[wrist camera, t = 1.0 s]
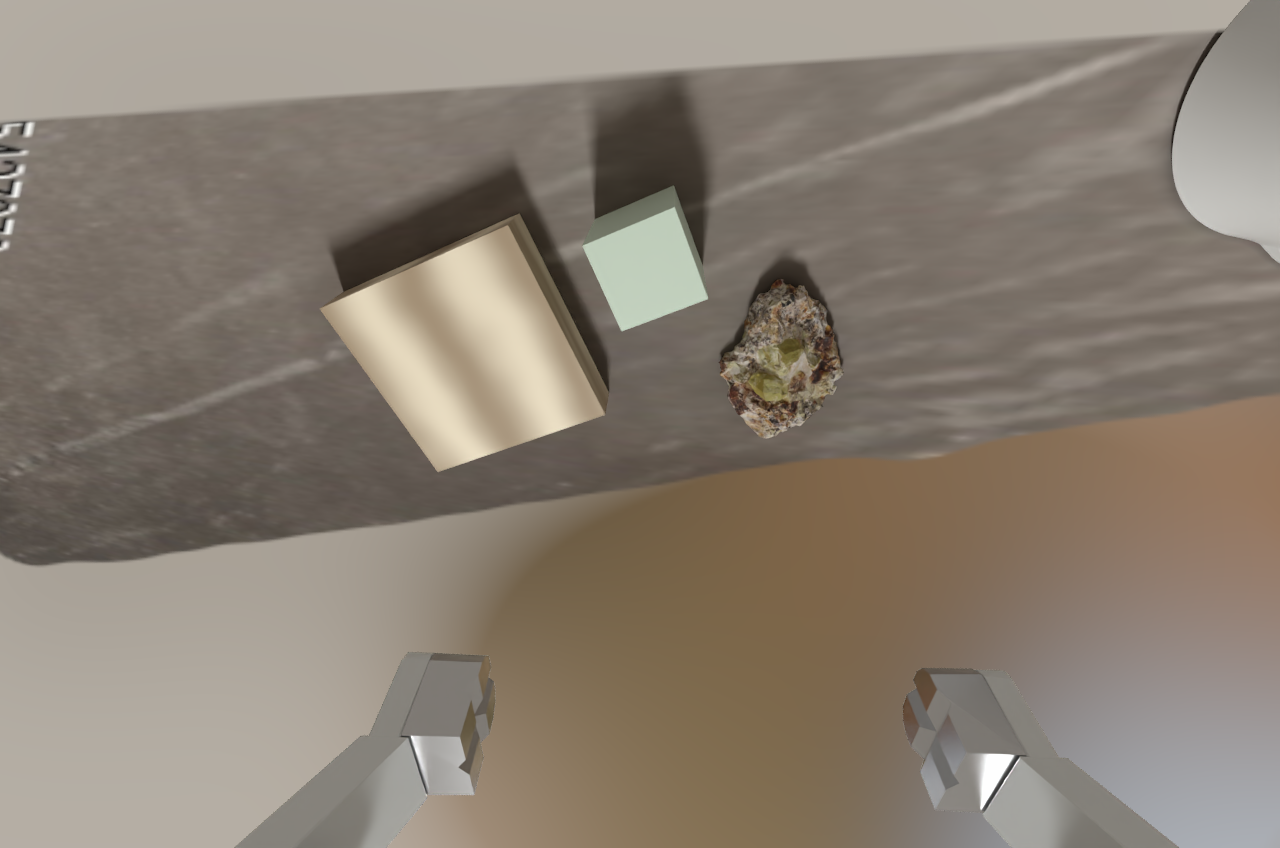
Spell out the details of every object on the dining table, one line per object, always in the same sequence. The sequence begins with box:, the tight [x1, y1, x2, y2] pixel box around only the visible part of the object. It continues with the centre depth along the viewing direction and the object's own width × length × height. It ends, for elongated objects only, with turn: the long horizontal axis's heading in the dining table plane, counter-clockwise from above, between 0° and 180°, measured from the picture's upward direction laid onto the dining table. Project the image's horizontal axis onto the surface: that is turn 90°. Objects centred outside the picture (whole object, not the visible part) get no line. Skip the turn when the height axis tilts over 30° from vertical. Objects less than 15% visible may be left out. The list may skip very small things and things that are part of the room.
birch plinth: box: [320, 213, 609, 472], centre depth 38 cm, size 13×13×3 cm
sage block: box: [583, 185, 708, 331], centre depth 33 cm, size 5×5×6 cm
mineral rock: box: [719, 279, 844, 438], centre depth 38 cm, size 11×4×8 cm
